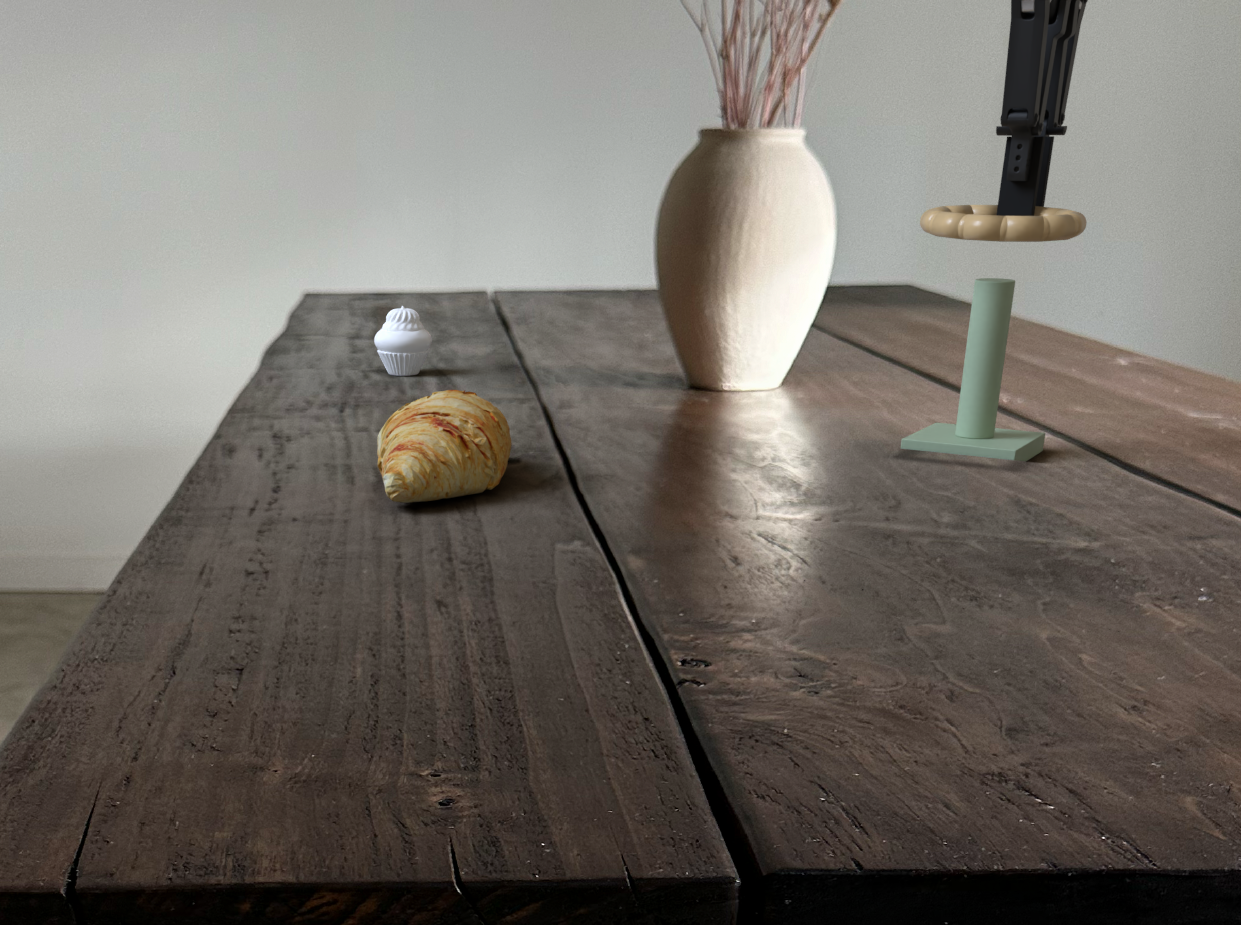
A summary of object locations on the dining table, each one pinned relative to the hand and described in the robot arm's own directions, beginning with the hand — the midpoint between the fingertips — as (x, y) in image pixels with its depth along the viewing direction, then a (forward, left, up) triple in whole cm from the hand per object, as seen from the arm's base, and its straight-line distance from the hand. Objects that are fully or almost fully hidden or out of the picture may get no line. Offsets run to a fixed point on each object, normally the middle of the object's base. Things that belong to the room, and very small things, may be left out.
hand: (1018, 224), depth 127 cm
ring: (0, +5, 0) cm, 5 cm away
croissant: (+30, +38, -17) cm, 51 cm away
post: (0, +5, -17) cm, 18 cm away
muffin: (+64, -7, -17) cm, 67 cm away
